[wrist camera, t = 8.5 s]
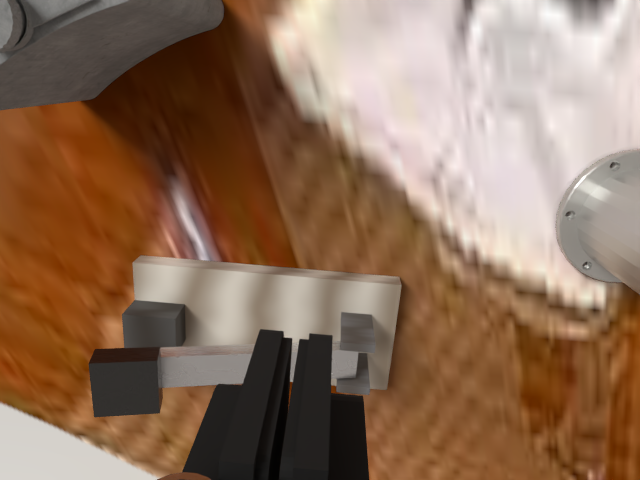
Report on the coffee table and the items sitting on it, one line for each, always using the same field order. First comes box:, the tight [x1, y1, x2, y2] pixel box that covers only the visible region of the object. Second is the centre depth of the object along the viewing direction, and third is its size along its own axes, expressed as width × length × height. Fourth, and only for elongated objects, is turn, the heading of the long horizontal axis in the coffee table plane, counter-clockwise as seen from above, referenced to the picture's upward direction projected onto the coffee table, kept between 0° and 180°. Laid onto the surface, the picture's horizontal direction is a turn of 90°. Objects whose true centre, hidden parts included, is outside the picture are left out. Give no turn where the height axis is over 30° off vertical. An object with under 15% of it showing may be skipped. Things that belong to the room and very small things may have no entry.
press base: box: [122, 255, 402, 395], centre depth 47 cm, size 26×12×8 cm, turn 86°
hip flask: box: [0, 0, 224, 110], centre depth 32 cm, size 16×4×20 cm, turn 117°
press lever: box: [89, 341, 358, 417], centre depth 41 cm, size 22×5×4 cm, turn 87°
